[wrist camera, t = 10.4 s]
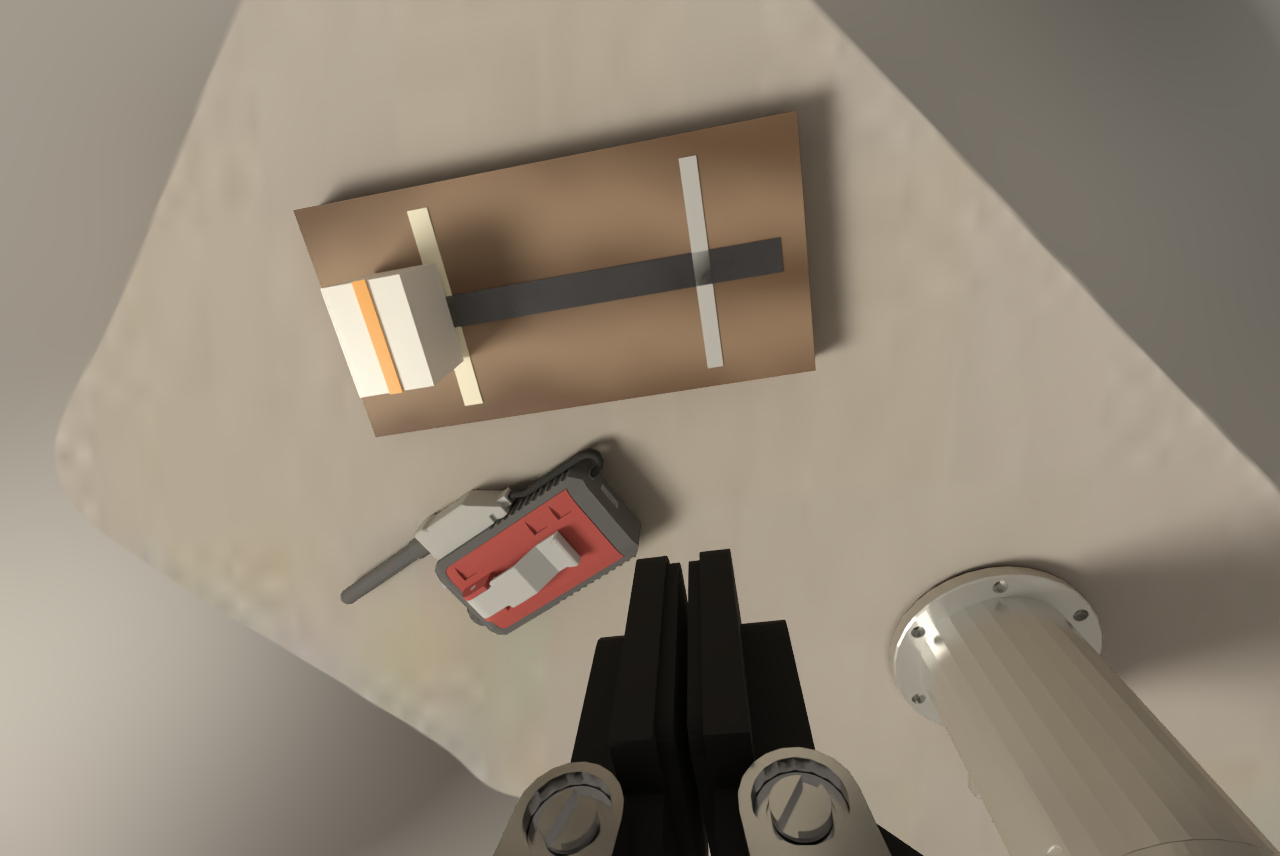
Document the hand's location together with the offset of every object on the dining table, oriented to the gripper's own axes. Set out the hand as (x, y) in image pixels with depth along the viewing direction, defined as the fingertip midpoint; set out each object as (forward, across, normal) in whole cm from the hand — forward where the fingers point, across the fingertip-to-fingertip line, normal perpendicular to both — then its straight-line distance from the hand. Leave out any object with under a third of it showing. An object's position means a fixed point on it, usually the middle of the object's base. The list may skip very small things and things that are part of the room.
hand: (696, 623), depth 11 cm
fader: (+20, +14, -4) cm, 25 cm away
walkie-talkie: (+24, +14, +11) cm, 30 cm away
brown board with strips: (+23, +6, -4) cm, 24 cm away
